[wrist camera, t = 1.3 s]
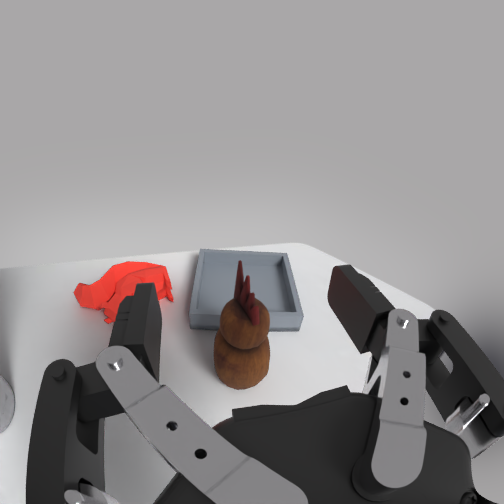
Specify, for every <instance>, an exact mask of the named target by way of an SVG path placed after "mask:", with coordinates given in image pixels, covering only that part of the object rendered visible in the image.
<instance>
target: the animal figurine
mask: <svg viewBox="0 0 504 504" xmlns="http://www.w3.org/2000/svg"><path fill="white" fill-rule="evenodd" d="M150 282H154V284H155V287H156V292H157V297H158V300H160V299H162V298H164V297H166V296H167V297H168V299H169V300H170V301H172V302H173V297H172V294H171V291H170V289H172V287H171V282H170V279H169V276H168V273H167V269H166V267H165V266H161V265H157V264H152V263H147V262H129V261H128V262H125V263H121V264H117V265H114V266H112V267H111V268H110V269H109V270H108V271H107V272H106V274H105V275H104V276H103V277H102V278H101V279H100V280H98V281H97V282H95V283H93V284H91V285H86V284H82V283H79V284H78V286H77V287H76V289H75V291H74V295H75V296H76V298H77V300H78V302H79V304H80V306H82V307H88V308H93V309H97V310H100V309H102V308H105V311H104V314H105V315H106V316H107V317H108V318H107V319H105V320H104V321H106V322H107V323H108V324H109V323H111V322H115V319H116V315H117V311H118V308H119V304H120V303H121V301H122V300H123V299H124V298H125V297H126V296H132V295H134V292H135V288H136V284H137V283H150Z"/></svg>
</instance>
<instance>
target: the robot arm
mask: <svg viewBox="0 0 504 504" xmlns="http://www.w3.org/2000/svg"><path fill="white" fill-rule="evenodd" d="M328 302H329V305H330V307H331V308H332V310H333V312H334V313H335V315H336V316H337V318H338V319H339V321H340V322H341V324H342V325H343V327H344V329H345V330H346V332H347V333H348V335H349V336H350V338H351V340H352V341H353V343H354V344H355V346H356V348H357V349H358V351H359V352H360V354H362V353H366V352H369V351H370V352H371V353H372V355H371V357H370V360H369V365H368V370H367V374H366V379H365V384H364V388H363V391H362V393H356V392H350V391H349V389H348V387H347V385H346V386H342V387H339V388H335V389H332V390H328V391H324V392H321V393H319V394H317V395H315V396H313V397H311V398H309V399H307V400H305V401H303V402H301V403H299V404H297V405H258V406H251V407H244V408H237V409H232V417H231V418H229V419H226V420H224V421H222V422H220V423H218V424H217V425H215V426H214V427H213V428H211V427H210V426H209V425H208V424H207V423H205V422H204V421H203V420H202V419H201V418H200V417H199V416H198V415H196V414H195V413H194V412H193V411H192V410H191V409H190V408H189V407H188V406H187V405H186V404H185V403H184V402H183V401H182V400H181V399H180V398H179V397H177V396H176V395H175V394H174V393H173V392H172V391H171V390H170V389H169V388H168V387H167V386H166V385H162V386H161V385H160V384H159V363H160V344H161V329H162V317H161V310H160V306H159V301H158V297H157V292H156V287H155V284H154V282H150V283H137V284H136V288H135V292H134V295H132V296H126V297H125V298H124V299H123V300H122V301H121V303H120V304H119V308H118V311H117V315H116V319H115V322H114V326H113V330H112V334H111V338H110V342H109V346H108V348H106V349H104V350H103V351H102V352H101V353H100V354H99V355H98V357H97V359H96V362H94V363H91V364H88V365H84V366H80V367H75V366H74V364H73V363H72V362H71V361H69V360H66V359H60V360H56V361H54V362H52V363H51V364H50V365H49V366H48V367H47V368H46V370H45V372H44V375H43V379H42V383H41V387H40V391H39V395H38V399H37V404H36V409H35V414H34V419H33V424H32V430H31V437H30V444H29V452H28V462H27V476H26V504H119V503H118V501H117V500H116V499H115V498H114V497H112V496H111V495H109V494H107V493H105V479H104V421H105V417H109V416H113V415H117V414H120V413H124V412H125V413H126V415H127V416H128V417H129V419H130V420H131V421H132V422H133V424H134V425H135V426H136V427H137V429H138V430H139V431H140V432H141V434H142V435H143V436H144V437H145V438H146V440H147V441H148V442H149V443H150V444H151V445H152V447H153V448H154V449H155V450H156V451H157V452H158V453H159V455H160V456H161V457H162V458H163V459H164V460H165V461H166V462H167V463H168V464H169V465H170V466H171V467H172V468H173V469H174V470H175V471H176V472H177V473H176V475H175V476H174V477H173V479H172V480H171V481H170V482H169V484H168V485H167V486H166V488H165V489H164V490H163V492H162V493H161V494H160V495H159V497H158V498H157V499H156V500H155V502H154V503H153V504H497V503H494V502H492V501H489V500H487V499H485V498H484V497H482V496H481V495H479V494H478V492H477V491H476V489H475V487H474V484H473V480H472V472H471V459H473V458H475V457H477V456H478V455H479V454H481V453H482V452H483V451H485V450H486V449H487V448H489V447H490V446H491V445H493V444H494V443H495V442H496V441H498V440H499V439H500V438H501V437H502V436H504V380H503V378H502V377H501V375H500V374H499V372H498V371H497V370H496V368H495V367H494V366H493V364H492V363H491V362H490V361H489V359H488V358H487V356H486V355H485V354H484V353H483V352H482V350H481V349H480V348H479V346H478V345H477V344H476V343H475V341H474V340H473V339H472V338H471V337H470V335H469V334H468V333H467V332H466V331H465V329H464V328H463V327H462V326H461V325H460V324H459V322H458V321H457V320H456V319H455V318H454V317H453V316H452V315H451V314H450V313H448V312H446V311H443V310H435V311H433V312H432V314H431V316H430V318H429V319H417V318H416V317H415V315H413V314H412V313H411V312H409V311H407V310H404V309H395V307H394V306H393V305H392V304H391V303H390V302H389V301H388V300H387V298H386V297H385V296H384V295H383V294H382V293H381V292H380V291H379V289H378V288H377V287H375V285H374V284H373V283H372V282H371V281H370V280H369V279H368V278H367V277H365V276H363V275H362V274H359V273H358V272H357V271H356V270H355V269H354V268H353V267H352V266H351V265H341V266H335V267H334V268H333V270H332V275H331V280H330V285H329V290H328ZM442 350H444V351H445V352H446V354H447V355H448V356H449V358H450V359H451V360H452V362H453V371H452V373H451V374H450V373H449V371H448V370H447V368H446V367H445V365H444V364H443V362H442V361H441V360H440V358H439V355H440V354H441V352H442ZM425 389H426V390H427V392H428V394H429V395H430V397H431V399H432V400H433V402H434V404H435V405H436V407H437V409H438V411H439V412H440V414H441V415H442V418H443V419H444V421H445V423H446V430H445V429H443V428H440V427H438V426H436V425H434V424H431V423H429V422H427V421H424V408H425V407H424V406H425ZM14 405H15V402H14V395H13V391H12V389H11V387H10V385H9V384H8V383H7V381H6V380H5V379H4V378H3V377H2V376H1V375H0V433H1V432H3V431H4V430H5V429H6V428H7V426H8V425H9V423H10V422H11V419H12V417H13V413H14Z"/></svg>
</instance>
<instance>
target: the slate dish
mask: <svg viewBox="0 0 504 504" xmlns="http://www.w3.org/2000/svg"><path fill="white" fill-rule="evenodd" d="M239 260H241V261H242V267H243V276H244V282H245V278H246V276H247V275H249V276H250V293H253V292H254V294H255V298H256V299H258V300H259V301H261V302H262V303H263V304H264V305H265V307H266V308H267V310H268V312H269V314H270V327H269V331H299V329H300V326H301V323H302V320H303V317H304V316H303V312H302V308H301V304H300V300H299V296H298V292H297V289H296V285H295V281H294V277H293V273H292V270H291V266H290V262H289V259H288V255H287V253H273V252H253V251H232V250H211V249H200V252H199V258H198V263H197V269H196V274H195V280H194V286H193V291H192V297H191V304H190V310H189V319H190V329H206V330H218V329H219V327H220V316H221V312H222V310H223V308H224V306H225V305H226V303H227V302H229V301H230V300H231V299H233V298H234V290H235V282H236V275H237V268H238V261H239Z"/></svg>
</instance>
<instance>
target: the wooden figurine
mask: <svg viewBox="0 0 504 504" xmlns="http://www.w3.org/2000/svg"><path fill="white" fill-rule="evenodd" d="M269 327H270V314H269V312H268V310H267V308H266V307H265V305H264V304H263V303H262V302H261V301H259V300H258V299H256V298H255V294H254V292H253V293H250V276H249V275H247V276H246V278H245V282H244V276H243V267H242V261H241V260H239V261H238V268H237V275H236V282H235V290H234V298H233V299H231V300H230V301H229V302H227V303H226V305H225V306H224V308H223V310H222V312H221V316H220V327H219V329H218V332H217V334H216V337H215V342H214V365H215V369H216V372H217V375H218V377H219V379H220V380H221V381H222V382H223V383H224V384H225V385H227V386H228V387H231V388H234V389H237V390H239V389H247V388H250V387H253V386H255V385H257V384H258V383H259V382H260V381H261V380H262V379H263V378H264V377H265V376H266V375H267V372H268V369H269V360H270V346H269V340H268V337H267V335H268V332H269Z"/></svg>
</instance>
